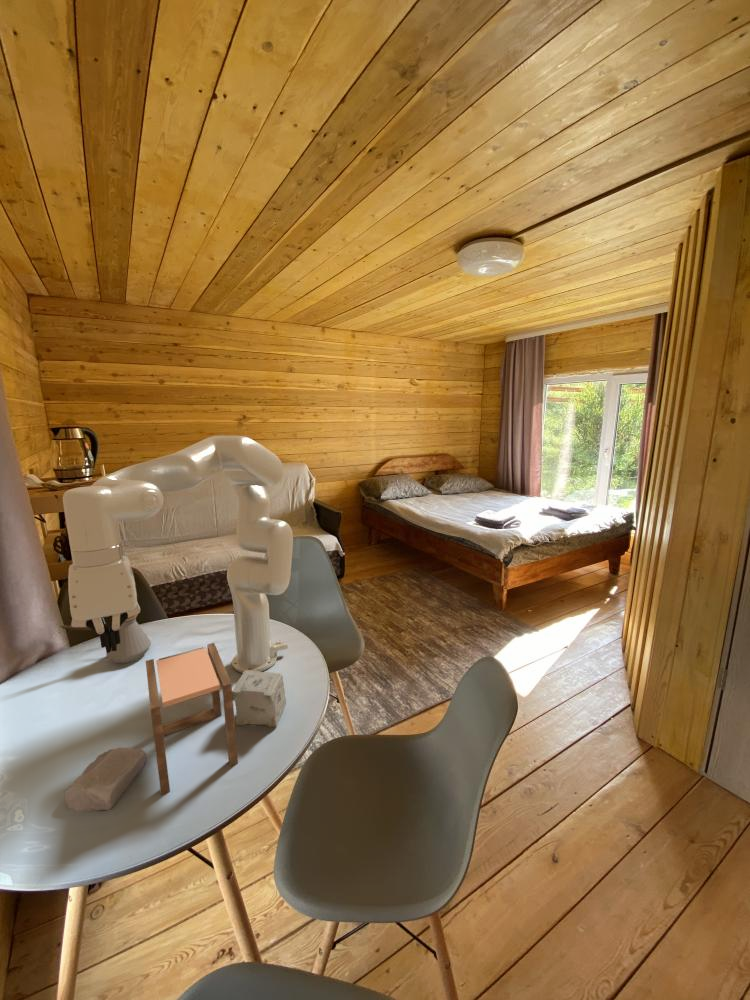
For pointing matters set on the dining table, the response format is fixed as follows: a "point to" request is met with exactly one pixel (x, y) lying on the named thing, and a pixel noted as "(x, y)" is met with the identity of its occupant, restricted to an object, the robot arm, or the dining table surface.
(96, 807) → the stone block
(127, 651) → the coffee pot
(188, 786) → the dining table surface
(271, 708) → the white speckled block
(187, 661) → the trapdoor
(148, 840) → the dining table surface
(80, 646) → the dining table surface
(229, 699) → the stand
